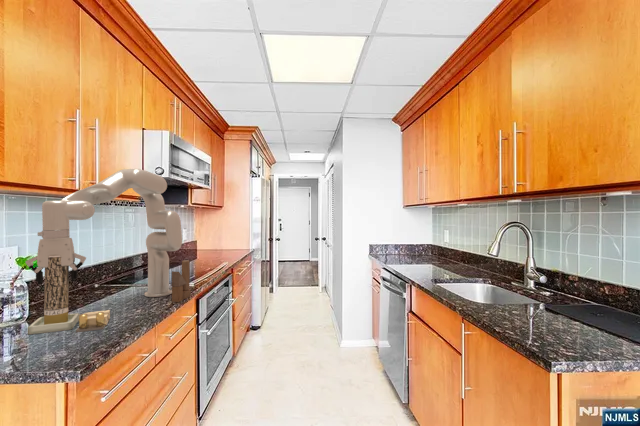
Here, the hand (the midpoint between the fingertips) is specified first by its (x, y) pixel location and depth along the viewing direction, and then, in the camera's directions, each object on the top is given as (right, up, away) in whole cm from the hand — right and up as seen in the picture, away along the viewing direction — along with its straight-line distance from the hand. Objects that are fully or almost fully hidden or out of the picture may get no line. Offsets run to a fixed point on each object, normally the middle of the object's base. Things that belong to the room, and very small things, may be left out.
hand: (57, 282), depth 118 cm
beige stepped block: (+11, -16, +4) cm, 20 cm away
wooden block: (+29, -16, +38) cm, 50 cm away
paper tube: (0, -15, 0) cm, 15 cm away
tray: (0, -16, -1) cm, 16 cm away
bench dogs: (+14, -16, -3) cm, 21 cm away
